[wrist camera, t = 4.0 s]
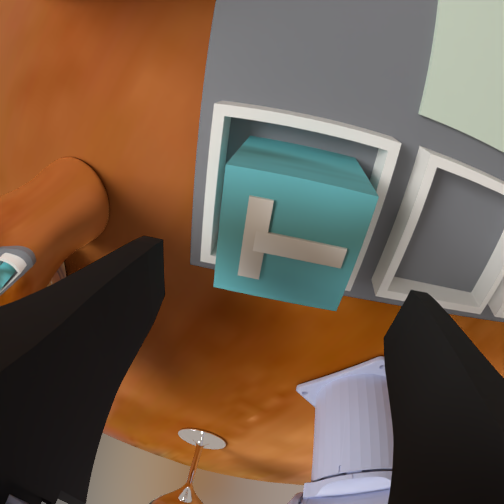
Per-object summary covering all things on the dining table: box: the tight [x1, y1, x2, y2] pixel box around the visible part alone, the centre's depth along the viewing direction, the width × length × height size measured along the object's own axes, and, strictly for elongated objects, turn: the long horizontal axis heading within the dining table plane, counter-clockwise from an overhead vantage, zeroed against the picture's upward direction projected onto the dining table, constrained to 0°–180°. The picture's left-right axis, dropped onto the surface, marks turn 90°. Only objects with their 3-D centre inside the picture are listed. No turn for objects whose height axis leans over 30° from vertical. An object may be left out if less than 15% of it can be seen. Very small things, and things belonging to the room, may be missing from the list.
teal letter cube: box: [213, 136, 379, 311], centre depth 13 cm, size 5×5×5 cm
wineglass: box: [149, 428, 226, 504], centre depth 27 cm, size 8×8×18 cm
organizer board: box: [190, 0, 504, 322], centre depth 12 cm, size 20×29×2 cm
